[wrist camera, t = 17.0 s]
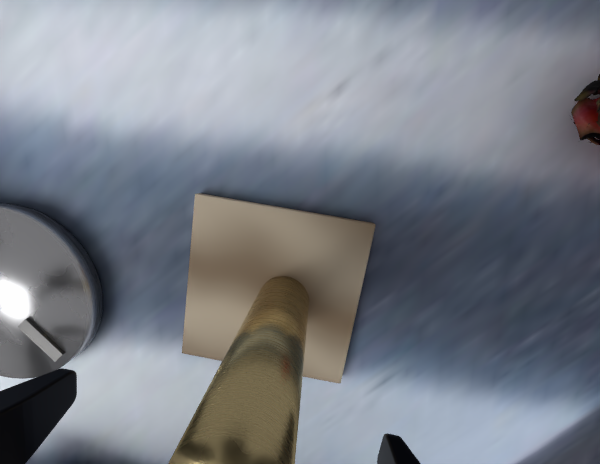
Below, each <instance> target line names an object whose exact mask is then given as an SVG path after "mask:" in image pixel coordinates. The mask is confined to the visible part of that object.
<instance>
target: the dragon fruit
mask: <svg viewBox="0 0 600 464" xmlns="http://www.w3.org/2000/svg"><path fill="white" fill-rule="evenodd" d="M591 94H593V95H597V94H600V74H599V76H598V80H597V81H594V82H592V83H590V84H589V85H587V86H586V87H585V88H584V89H583V91H582V92H581V93H580V94H579V96H578V97H577V98H576V99H575V101H578V102H577V104H576V105H575V106H574V108H573V109H572V111H571V114H572V116H573V118H574V124H576V127H577V130H578V133H579V137H580V140H584V139H588V140H590V141H591V142H590V143H594V144H596V145H600V97H599V98H597V99H594V100H592V99H590V98H587V97H588V96H590V95H591ZM571 120H572V119H571ZM595 137H596V138H598V139H599V140H598V139H596V138H595Z"/></svg>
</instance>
